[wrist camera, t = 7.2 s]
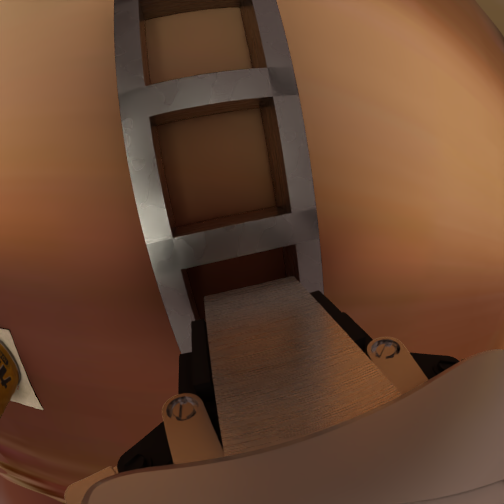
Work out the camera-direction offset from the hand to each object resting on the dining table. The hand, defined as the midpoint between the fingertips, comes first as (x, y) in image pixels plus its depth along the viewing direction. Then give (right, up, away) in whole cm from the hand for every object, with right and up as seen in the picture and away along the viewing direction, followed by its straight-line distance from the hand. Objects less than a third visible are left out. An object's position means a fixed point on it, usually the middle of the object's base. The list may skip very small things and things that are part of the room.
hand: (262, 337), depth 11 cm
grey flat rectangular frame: (-2, +8, +2) cm, 9 cm away
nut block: (0, 0, +1) cm, 1 cm away
